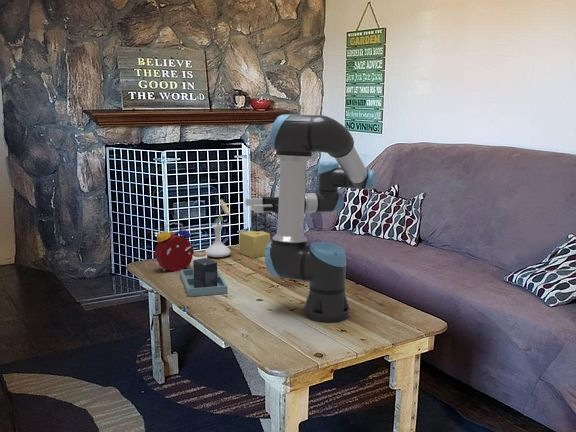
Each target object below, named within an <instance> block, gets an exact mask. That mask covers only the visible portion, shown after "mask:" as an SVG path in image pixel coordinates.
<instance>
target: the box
mask: <svg viewBox="0 0 576 432" xmlns="http://www.w3.org/2000/svg"><path fill="white" fill-rule="evenodd" d="M193 266H194V287H195V288H202V287H215V286H217V270H218V261H215V260H212V259H210V258H208V257H207V258H202V259H196V260H192V267H193Z"/></svg>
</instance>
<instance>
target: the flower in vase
mask: <svg viewBox="0 0 576 432" xmlns="http://www.w3.org/2000/svg"><path fill="white" fill-rule="evenodd" d="M219 202H220V206H221V210H220V212H219V215H218V217H217V218H215V220H214V222H215V223H217V224H212V225H211V227H212V228H213V230H214V237H215V239H214V242H213V243H212V244H210V246H208V247H207V249H206V250H205V251H204V252H206V254H207V257H211V258H224V257H228V256H230V255H231V253H232V251H231V249H230V248H229V247H228V246H226V245H225V244H224V243H223V242H222V240H221V232H222V229H223V227H224V224H220V223H219V222H223V221H224V217H223V216H222V215H221V213H222V211H223V212H224V214H225V215H227V216H230V214H231V212H230V210H229V207H228V206H227V203H226V202H224V199H220V200H219Z"/></svg>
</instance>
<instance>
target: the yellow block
mask: <svg viewBox="0 0 576 432" xmlns="http://www.w3.org/2000/svg"><path fill="white" fill-rule="evenodd" d="M270 242H271V233H268V232H266V231H263V230H260V231H255V230H248V231H240V232H239V234H238V245H239V251H240V255H243V256H247V257H250V258H252V259H255V258H260V257H265V251H266V247H267V245H268V244H269V243H270Z"/></svg>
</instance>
